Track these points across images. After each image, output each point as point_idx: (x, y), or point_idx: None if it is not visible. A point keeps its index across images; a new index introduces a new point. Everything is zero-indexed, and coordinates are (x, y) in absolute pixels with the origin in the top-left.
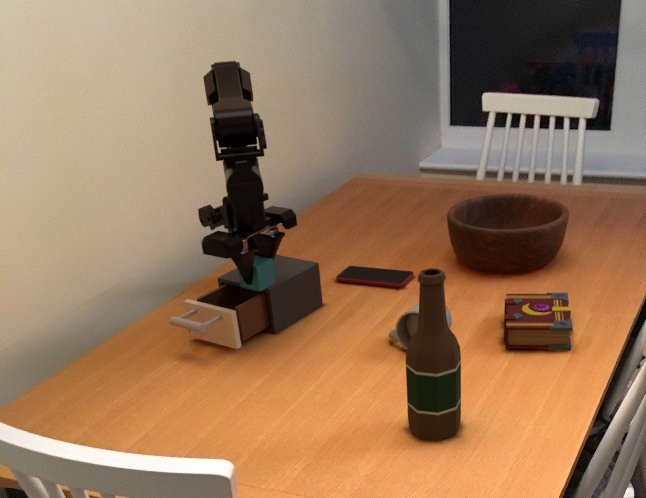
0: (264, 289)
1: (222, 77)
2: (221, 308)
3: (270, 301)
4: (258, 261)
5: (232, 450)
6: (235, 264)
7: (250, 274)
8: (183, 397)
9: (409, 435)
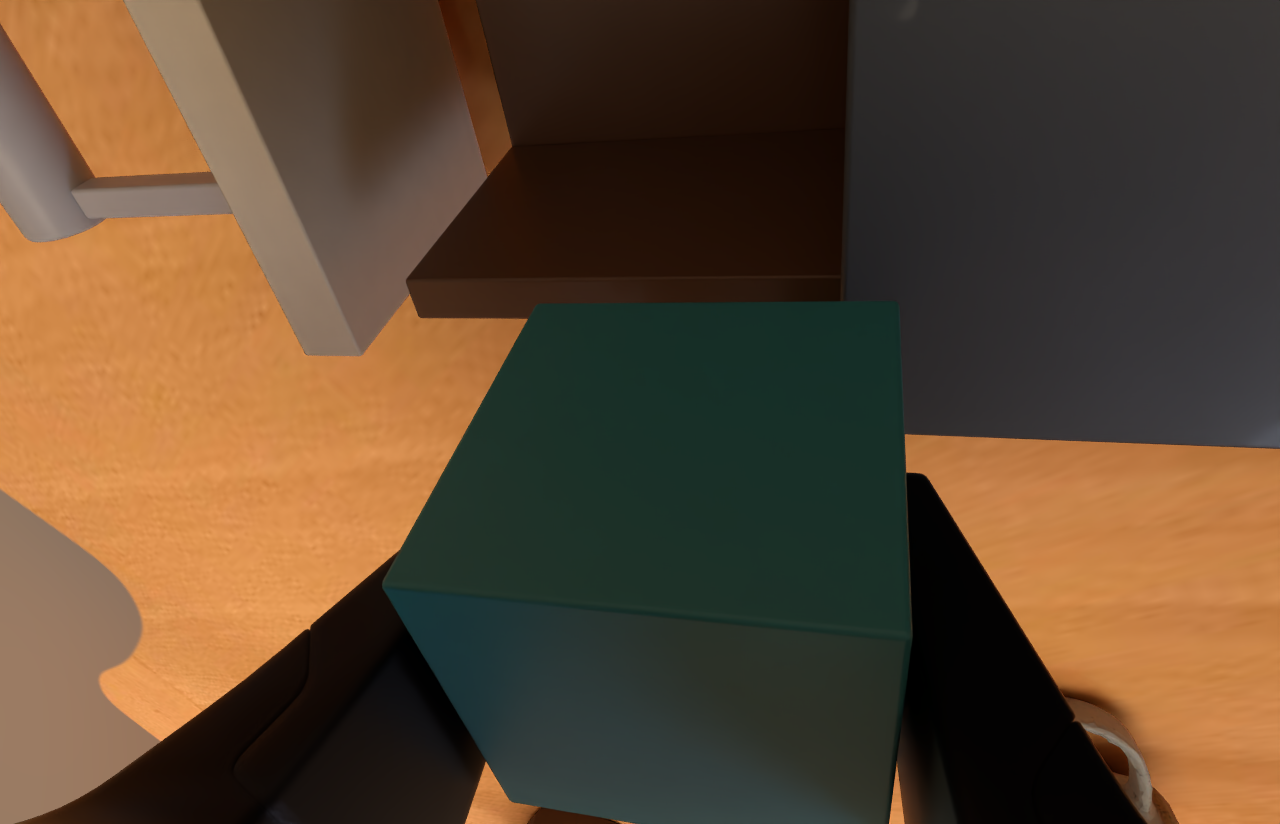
0: None
1: None
2: (271, 208)
3: None
4: (670, 778)
5: (139, 583)
6: (261, 671)
7: None
8: (39, 271)
9: (525, 807)
